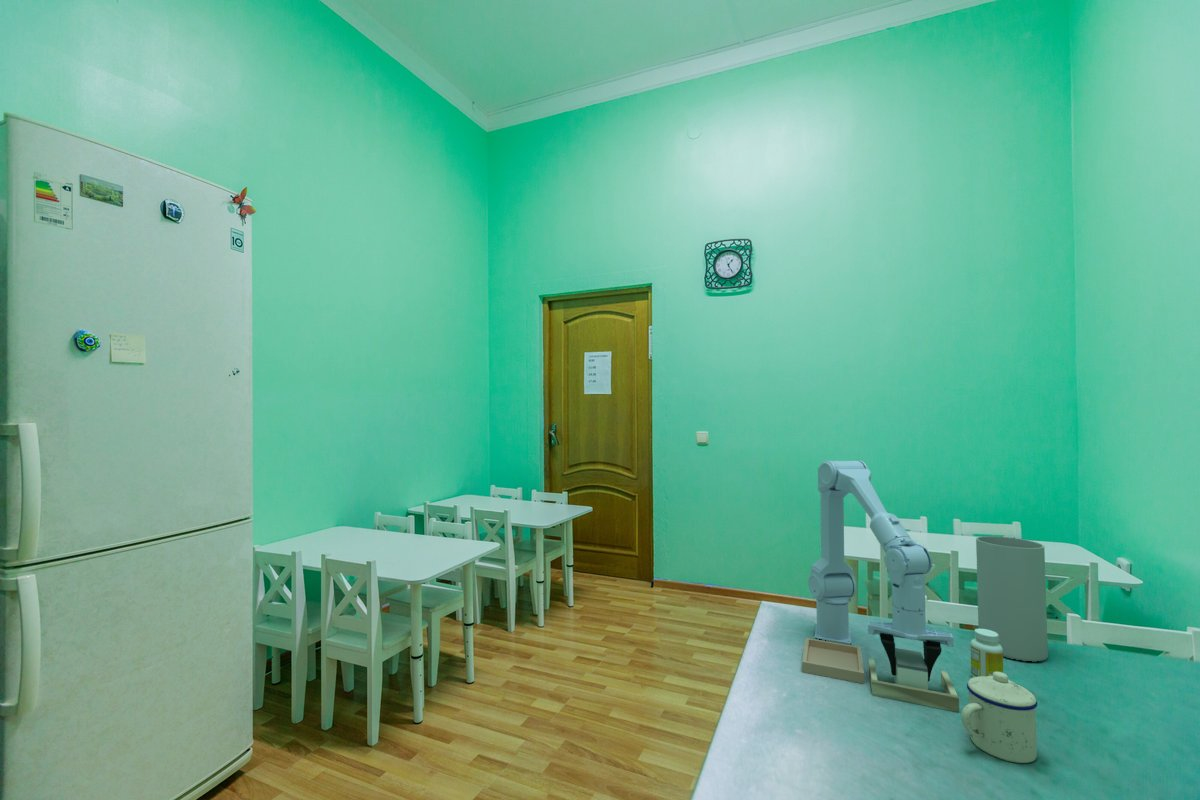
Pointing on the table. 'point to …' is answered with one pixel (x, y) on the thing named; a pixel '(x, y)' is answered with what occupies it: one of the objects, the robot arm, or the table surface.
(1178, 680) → the table surface
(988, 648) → the supplement bottle
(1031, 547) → the cylinder vase
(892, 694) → the bay
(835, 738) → the table surface
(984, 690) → the teacup with lid
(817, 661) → the tray
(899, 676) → the grey-green upright block
